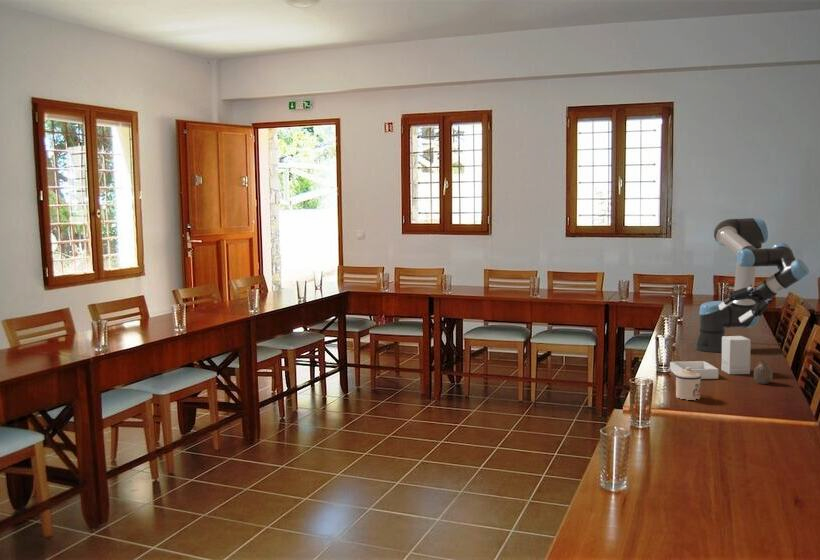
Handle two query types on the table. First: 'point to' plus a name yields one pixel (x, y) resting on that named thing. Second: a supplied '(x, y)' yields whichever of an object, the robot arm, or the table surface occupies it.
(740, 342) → the supplement box
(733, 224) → the robot arm
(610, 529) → the table surface
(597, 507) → the table surface
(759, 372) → the vase
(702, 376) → the white bin
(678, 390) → the teacup with lid
